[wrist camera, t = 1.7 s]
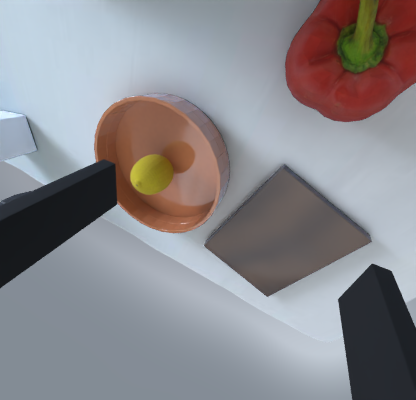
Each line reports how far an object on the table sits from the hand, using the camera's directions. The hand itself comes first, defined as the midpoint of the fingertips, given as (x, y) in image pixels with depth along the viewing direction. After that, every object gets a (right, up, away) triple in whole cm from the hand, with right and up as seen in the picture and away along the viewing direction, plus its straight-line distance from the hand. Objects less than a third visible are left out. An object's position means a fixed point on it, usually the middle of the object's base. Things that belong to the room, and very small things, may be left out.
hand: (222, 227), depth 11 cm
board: (+10, -5, +24) cm, 27 cm away
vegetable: (+13, +16, +11) cm, 23 cm away
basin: (-7, +7, +25) cm, 27 cm away
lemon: (-7, +7, +25) cm, 27 cm away
